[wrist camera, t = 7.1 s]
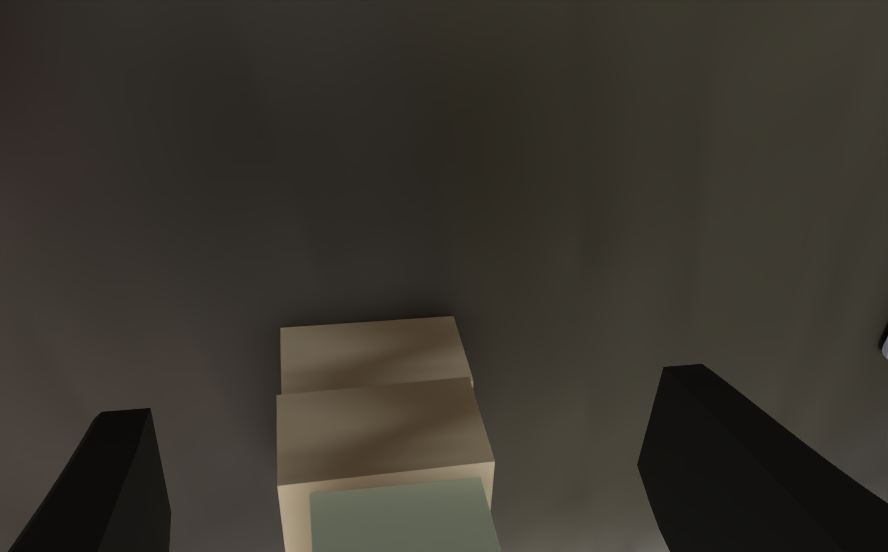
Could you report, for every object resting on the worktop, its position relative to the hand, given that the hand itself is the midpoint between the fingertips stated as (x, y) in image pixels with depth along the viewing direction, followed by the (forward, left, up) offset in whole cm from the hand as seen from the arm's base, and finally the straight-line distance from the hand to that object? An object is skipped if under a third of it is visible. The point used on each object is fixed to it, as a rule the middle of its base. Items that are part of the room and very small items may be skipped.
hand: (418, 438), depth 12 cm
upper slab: (0, +8, -8) cm, 11 cm away
